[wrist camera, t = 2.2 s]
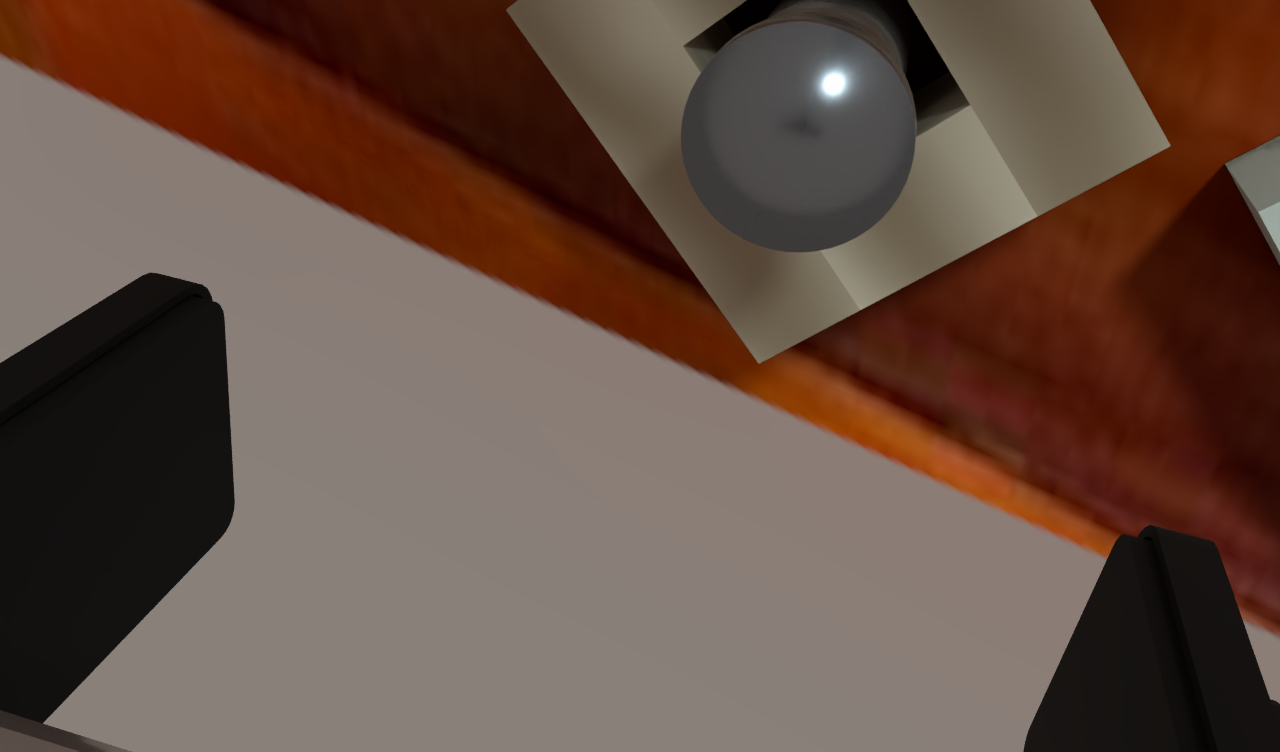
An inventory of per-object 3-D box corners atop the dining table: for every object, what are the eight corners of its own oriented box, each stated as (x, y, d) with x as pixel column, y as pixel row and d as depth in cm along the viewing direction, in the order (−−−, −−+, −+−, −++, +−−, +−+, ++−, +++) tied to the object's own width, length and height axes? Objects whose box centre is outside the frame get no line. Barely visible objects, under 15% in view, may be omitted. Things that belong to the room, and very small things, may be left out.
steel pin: (869, -90, 30) (832, -29, 21) (958, 57, 31) (960, 179, 22) (727, 11, 32) (636, 109, 23) (815, 146, 34) (762, 290, 24)
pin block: (919, -306, 28) (912, -321, 23) (1140, 94, 31) (1170, 145, 26) (563, -21, 33) (505, 9, 29) (781, 294, 36) (758, 363, 32)
